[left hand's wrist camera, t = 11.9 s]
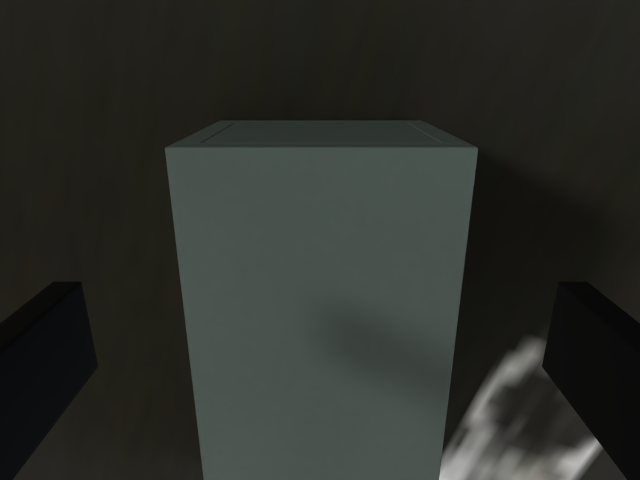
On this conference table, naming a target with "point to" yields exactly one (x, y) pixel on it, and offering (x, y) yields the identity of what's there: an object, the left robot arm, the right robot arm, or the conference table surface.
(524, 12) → the conference table surface
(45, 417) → the left robot arm
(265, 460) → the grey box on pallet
